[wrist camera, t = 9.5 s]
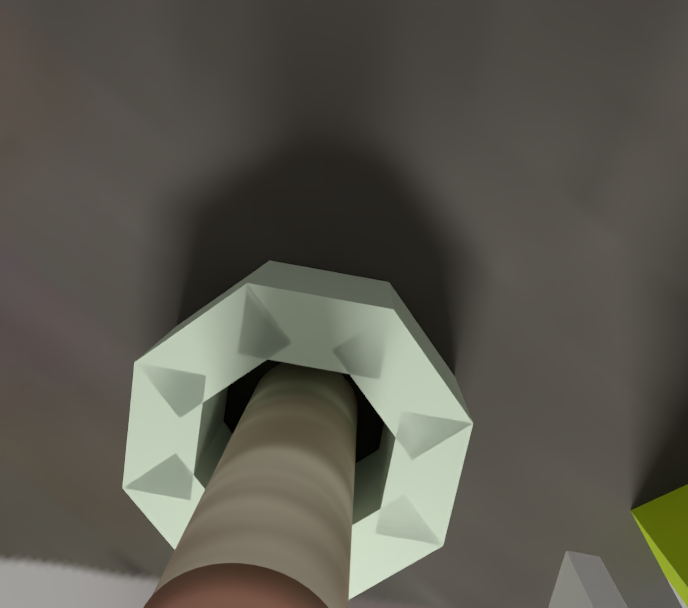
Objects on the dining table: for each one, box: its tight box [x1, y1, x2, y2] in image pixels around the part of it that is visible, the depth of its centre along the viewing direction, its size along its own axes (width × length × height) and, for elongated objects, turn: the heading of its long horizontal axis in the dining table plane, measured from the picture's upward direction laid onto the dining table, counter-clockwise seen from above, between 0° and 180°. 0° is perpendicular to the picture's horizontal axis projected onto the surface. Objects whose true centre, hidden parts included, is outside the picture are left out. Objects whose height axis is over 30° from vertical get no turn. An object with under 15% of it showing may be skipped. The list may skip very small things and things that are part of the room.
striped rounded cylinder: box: [144, 362, 358, 608], centre depth 16 cm, size 4×4×14 cm
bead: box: [123, 260, 473, 599], centre depth 21 cm, size 10×10×4 cm
